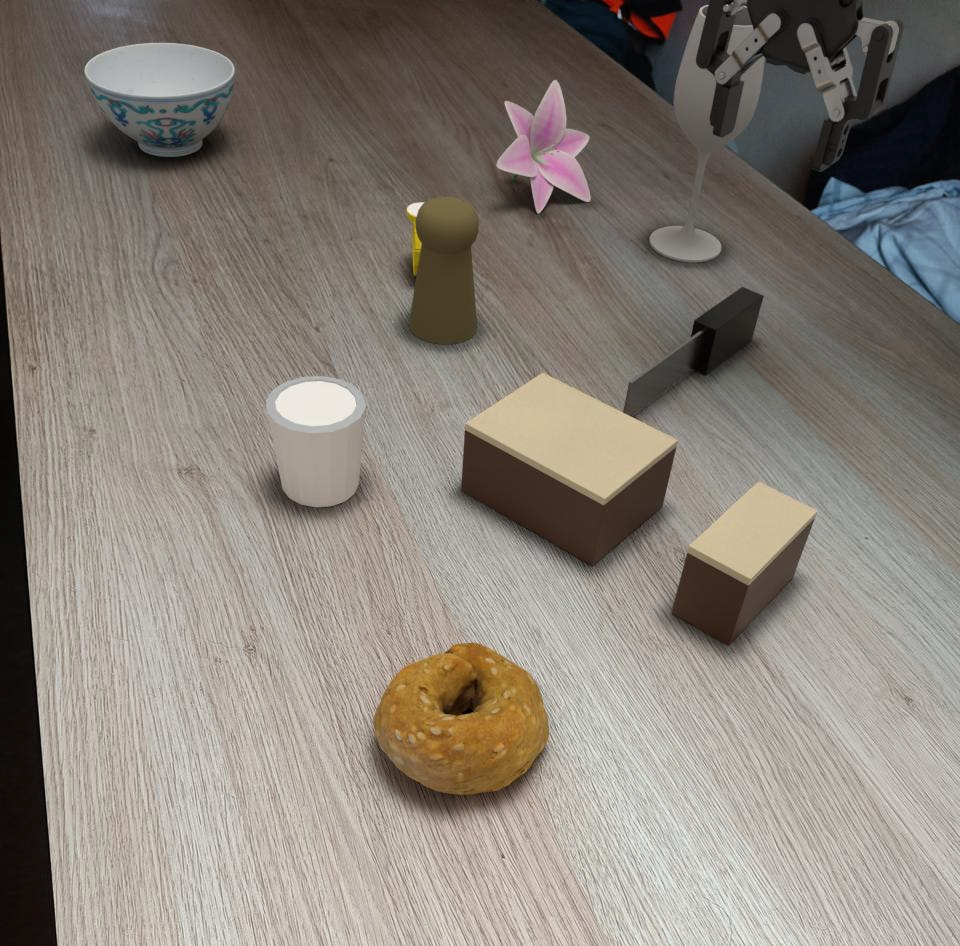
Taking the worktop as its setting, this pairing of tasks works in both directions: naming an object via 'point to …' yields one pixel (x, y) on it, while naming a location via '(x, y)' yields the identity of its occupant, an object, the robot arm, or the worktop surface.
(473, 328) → the chess pawn piece
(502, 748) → the bagel
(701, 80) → the wineglass
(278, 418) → the cup of milk
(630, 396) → the knife
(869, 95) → the robot arm
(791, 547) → the cake slice
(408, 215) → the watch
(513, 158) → the lily
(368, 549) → the worktop surface
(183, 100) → the chinaware
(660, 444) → the cake loaf
